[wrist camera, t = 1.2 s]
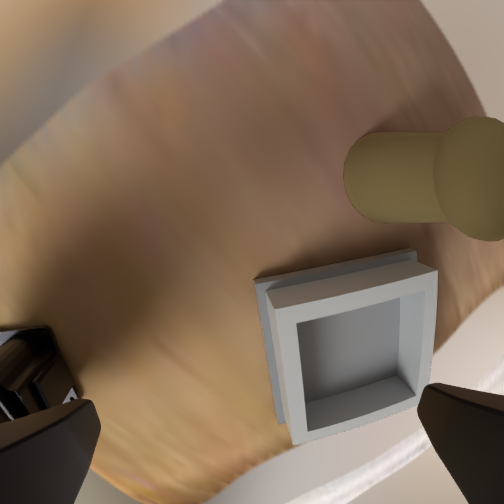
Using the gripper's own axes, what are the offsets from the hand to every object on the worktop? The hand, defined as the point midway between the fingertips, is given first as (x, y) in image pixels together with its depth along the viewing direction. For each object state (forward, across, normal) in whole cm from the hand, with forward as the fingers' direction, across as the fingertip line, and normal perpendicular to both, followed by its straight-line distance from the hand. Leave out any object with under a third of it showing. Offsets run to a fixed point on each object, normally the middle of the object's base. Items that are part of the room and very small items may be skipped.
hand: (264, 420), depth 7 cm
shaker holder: (+13, +7, -5) cm, 15 cm away
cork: (+14, +9, +6) cm, 17 cm away
